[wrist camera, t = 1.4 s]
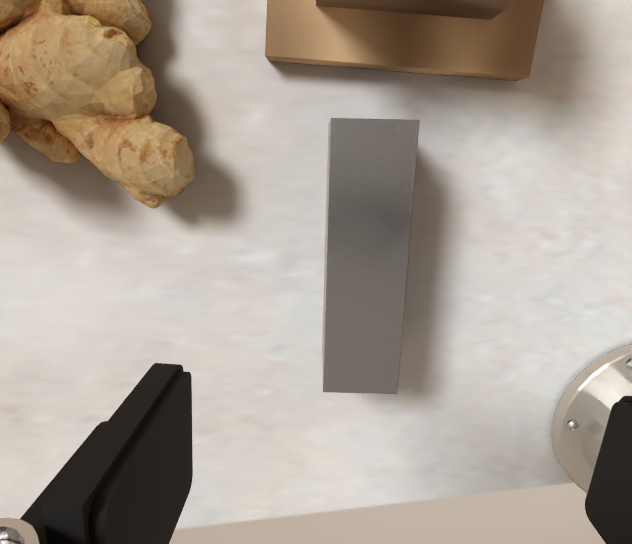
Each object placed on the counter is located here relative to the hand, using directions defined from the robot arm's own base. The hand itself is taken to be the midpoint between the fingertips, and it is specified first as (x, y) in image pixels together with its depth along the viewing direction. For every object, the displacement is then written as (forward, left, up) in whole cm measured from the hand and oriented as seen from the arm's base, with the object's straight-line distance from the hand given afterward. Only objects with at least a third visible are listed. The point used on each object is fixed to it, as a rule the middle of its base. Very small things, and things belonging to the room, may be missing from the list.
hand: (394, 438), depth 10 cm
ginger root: (+17, -9, -19) cm, 27 cm away
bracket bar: (-1, -1, -19) cm, 19 cm away
